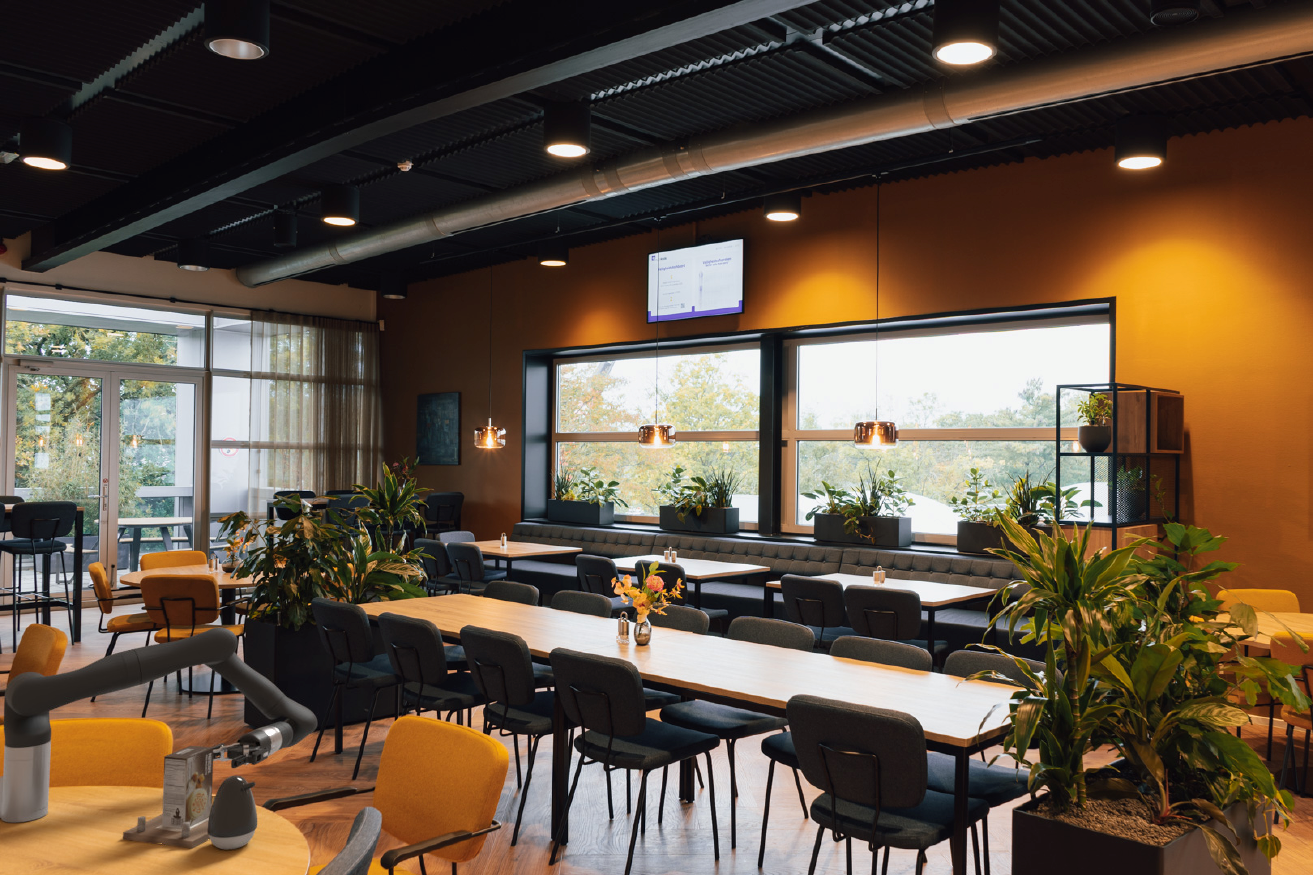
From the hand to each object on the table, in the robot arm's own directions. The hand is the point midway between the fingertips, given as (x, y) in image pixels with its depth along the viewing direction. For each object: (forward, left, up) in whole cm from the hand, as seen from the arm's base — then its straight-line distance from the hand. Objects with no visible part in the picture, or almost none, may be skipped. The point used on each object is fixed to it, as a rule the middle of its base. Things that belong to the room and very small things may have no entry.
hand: (217, 762), depth 232 cm
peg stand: (0, -10, -12) cm, 16 cm away
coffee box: (0, -10, -11) cm, 15 cm away
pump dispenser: (+16, -15, -13) cm, 25 cm away
